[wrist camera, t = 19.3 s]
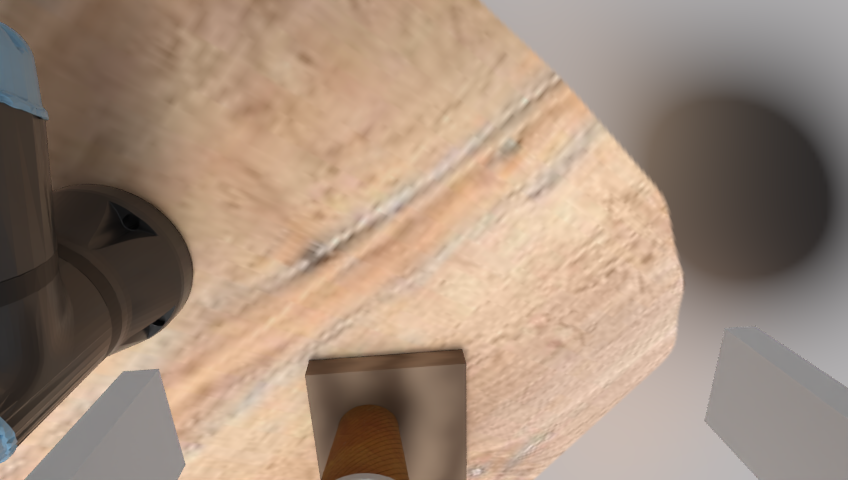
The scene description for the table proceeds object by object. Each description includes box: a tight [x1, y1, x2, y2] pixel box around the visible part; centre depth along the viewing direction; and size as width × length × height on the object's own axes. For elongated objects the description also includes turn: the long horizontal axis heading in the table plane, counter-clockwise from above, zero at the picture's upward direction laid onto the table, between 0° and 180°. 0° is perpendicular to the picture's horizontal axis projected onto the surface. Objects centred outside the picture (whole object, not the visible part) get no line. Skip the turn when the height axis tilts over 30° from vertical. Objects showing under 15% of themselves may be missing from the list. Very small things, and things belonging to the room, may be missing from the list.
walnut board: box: [305, 350, 466, 480], centre depth 49 cm, size 16×16×2 cm
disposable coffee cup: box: [321, 405, 409, 480], centre depth 41 cm, size 10×10×12 cm
